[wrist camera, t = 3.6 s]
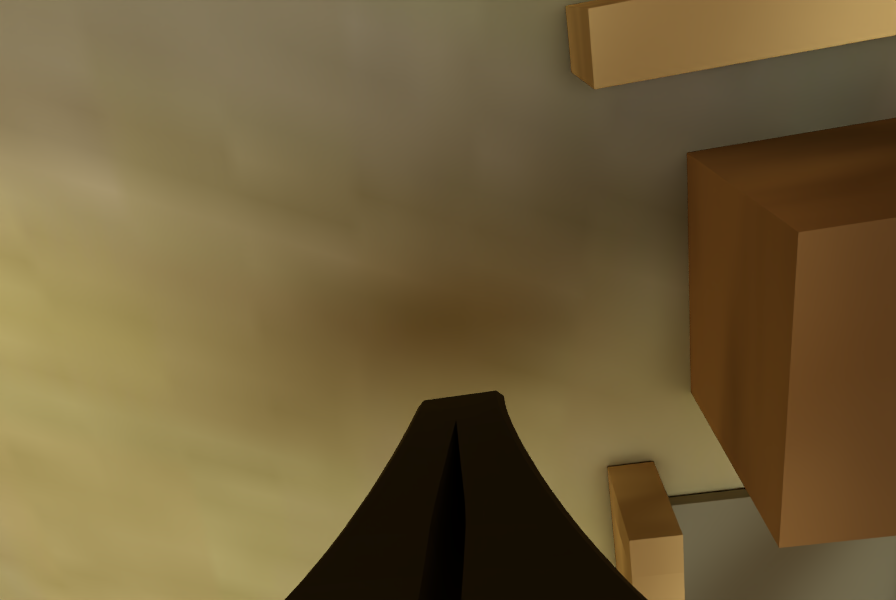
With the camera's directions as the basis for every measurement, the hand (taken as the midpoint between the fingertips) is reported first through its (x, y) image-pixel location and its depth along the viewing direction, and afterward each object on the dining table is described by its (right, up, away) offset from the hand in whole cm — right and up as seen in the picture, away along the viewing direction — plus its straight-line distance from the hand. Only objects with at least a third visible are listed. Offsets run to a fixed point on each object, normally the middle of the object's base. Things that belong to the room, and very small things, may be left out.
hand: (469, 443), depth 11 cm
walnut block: (+8, +3, +4) cm, 9 cm away
